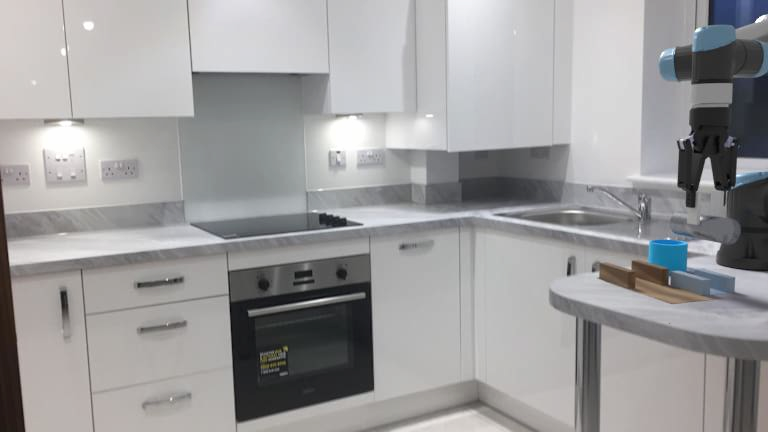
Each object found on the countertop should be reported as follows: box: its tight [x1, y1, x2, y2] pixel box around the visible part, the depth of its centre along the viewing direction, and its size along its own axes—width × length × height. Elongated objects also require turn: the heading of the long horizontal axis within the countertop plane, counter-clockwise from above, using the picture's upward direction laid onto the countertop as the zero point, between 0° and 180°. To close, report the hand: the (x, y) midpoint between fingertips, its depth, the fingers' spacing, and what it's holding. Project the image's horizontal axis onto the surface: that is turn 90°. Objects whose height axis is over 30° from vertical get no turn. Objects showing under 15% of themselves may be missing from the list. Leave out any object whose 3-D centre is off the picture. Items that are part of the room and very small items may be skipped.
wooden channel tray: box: [597, 259, 716, 305], centre depth 144 cm, size 10×24×5 cm, turn 17°
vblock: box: [669, 268, 736, 297], centre depth 143 cm, size 8×10×4 cm
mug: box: [647, 238, 689, 276], centre depth 162 cm, size 12×8×8 cm
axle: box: [669, 210, 741, 245], centre depth 141 cm, size 14×5×5 cm, turn 17°
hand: (704, 223), depth 141 cm, fingers closed on axle, 5 cm apart
